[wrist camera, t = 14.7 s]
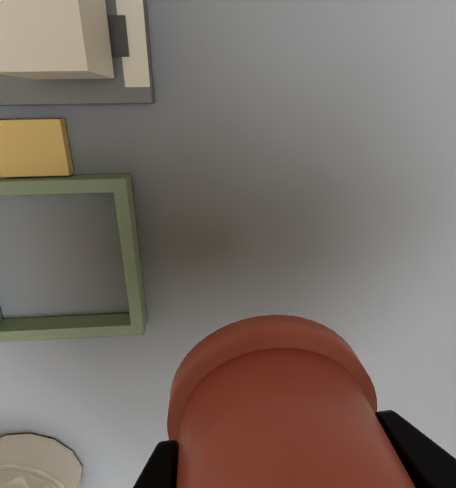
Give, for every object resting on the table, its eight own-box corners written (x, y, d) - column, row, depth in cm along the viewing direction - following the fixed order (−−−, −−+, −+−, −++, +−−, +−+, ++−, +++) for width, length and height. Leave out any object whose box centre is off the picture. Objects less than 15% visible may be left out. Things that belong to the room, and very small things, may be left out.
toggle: (103, -13, 13) (70, -52, 10) (114, 78, 14) (88, 71, 11) (18, -13, 13) (-45, -53, 10) (35, 79, 14) (-15, 72, 11)
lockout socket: (124, 117, 16) (118, 118, 15) (147, 321, 20) (143, 334, 19) (-68, 120, 16) (-89, 122, 14) (-6, 329, 19) (-19, 342, 18)
